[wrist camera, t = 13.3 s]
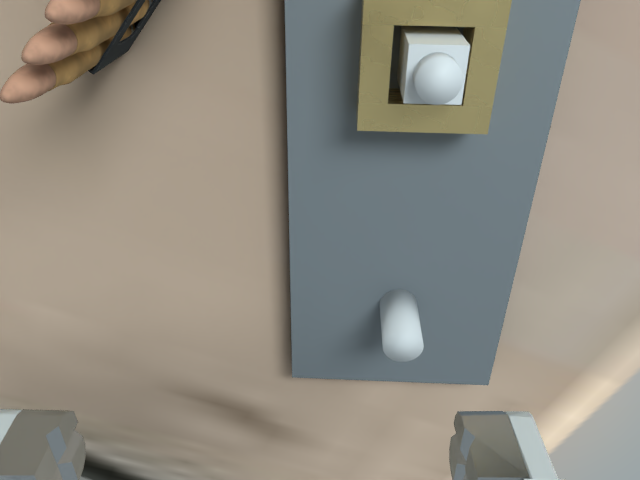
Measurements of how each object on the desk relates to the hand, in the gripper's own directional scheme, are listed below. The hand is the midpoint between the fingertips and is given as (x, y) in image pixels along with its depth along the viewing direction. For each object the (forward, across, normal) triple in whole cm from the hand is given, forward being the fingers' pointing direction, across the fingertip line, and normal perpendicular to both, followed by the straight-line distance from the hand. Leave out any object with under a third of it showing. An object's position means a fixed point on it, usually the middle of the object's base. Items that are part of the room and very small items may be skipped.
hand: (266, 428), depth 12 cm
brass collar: (+21, -6, -3) cm, 22 cm away
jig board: (+22, -6, +4) cm, 23 cm away
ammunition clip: (+23, +6, -7) cm, 25 cm away
